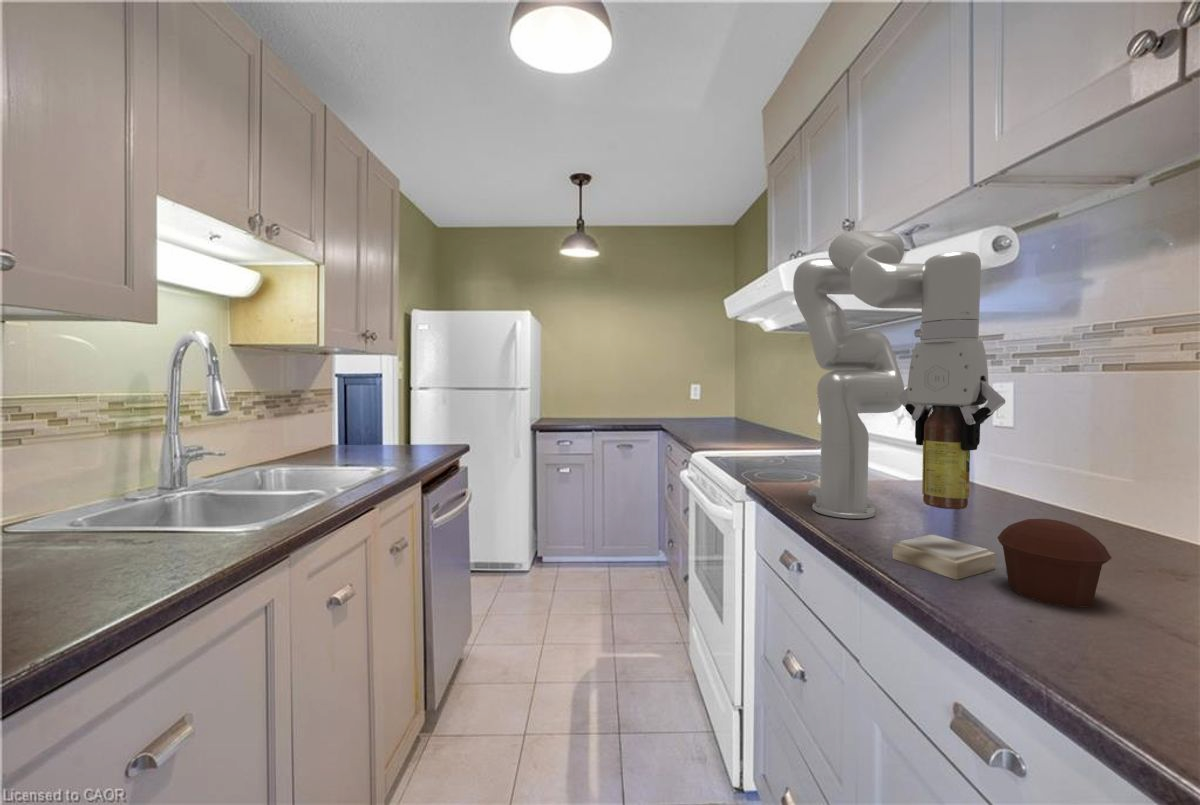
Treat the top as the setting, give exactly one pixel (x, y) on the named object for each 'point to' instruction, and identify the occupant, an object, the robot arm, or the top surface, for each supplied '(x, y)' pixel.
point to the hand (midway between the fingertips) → (945, 446)
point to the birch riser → (944, 556)
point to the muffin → (1053, 561)
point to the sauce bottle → (945, 460)
